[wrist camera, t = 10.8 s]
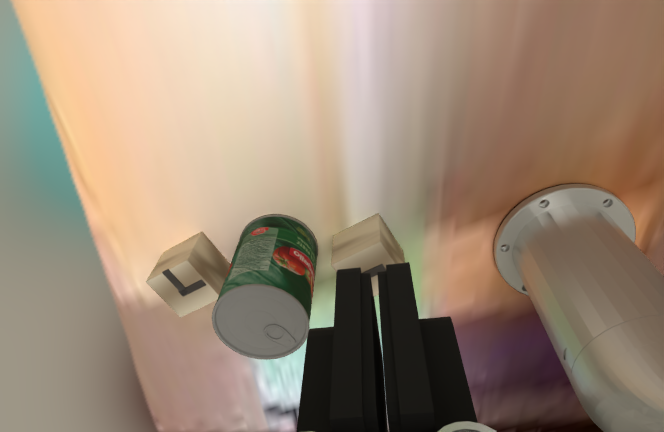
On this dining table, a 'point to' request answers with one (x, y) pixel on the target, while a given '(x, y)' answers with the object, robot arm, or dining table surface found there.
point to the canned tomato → (268, 289)
